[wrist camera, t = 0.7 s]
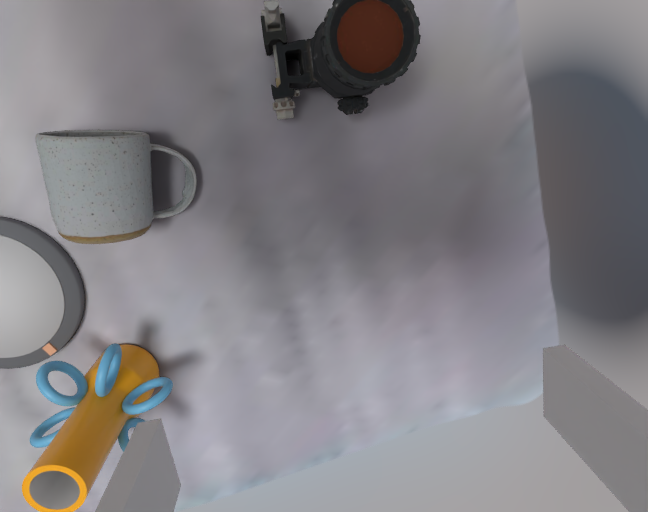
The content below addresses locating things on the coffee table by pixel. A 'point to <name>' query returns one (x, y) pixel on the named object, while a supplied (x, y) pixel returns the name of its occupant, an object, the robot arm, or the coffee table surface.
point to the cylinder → (90, 423)
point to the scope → (343, 51)
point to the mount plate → (35, 295)
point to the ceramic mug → (104, 183)
